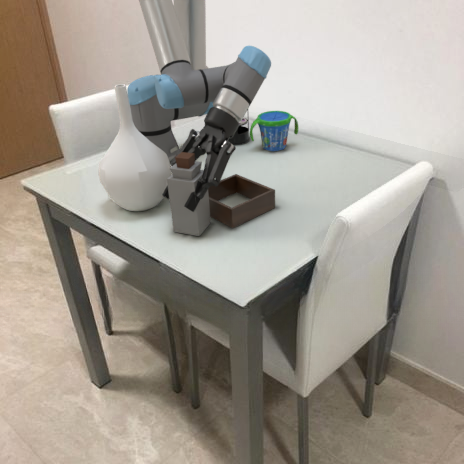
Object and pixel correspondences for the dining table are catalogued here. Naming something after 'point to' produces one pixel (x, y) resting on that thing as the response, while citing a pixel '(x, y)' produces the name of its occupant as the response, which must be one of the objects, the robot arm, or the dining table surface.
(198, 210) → the perfume bottle
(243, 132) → the french press
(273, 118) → the sippy cup
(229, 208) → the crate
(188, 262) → the dining table surface
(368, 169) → the dining table surface
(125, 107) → the vase
